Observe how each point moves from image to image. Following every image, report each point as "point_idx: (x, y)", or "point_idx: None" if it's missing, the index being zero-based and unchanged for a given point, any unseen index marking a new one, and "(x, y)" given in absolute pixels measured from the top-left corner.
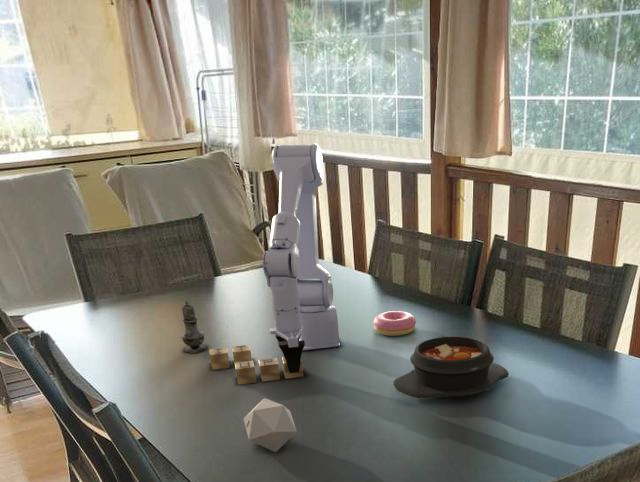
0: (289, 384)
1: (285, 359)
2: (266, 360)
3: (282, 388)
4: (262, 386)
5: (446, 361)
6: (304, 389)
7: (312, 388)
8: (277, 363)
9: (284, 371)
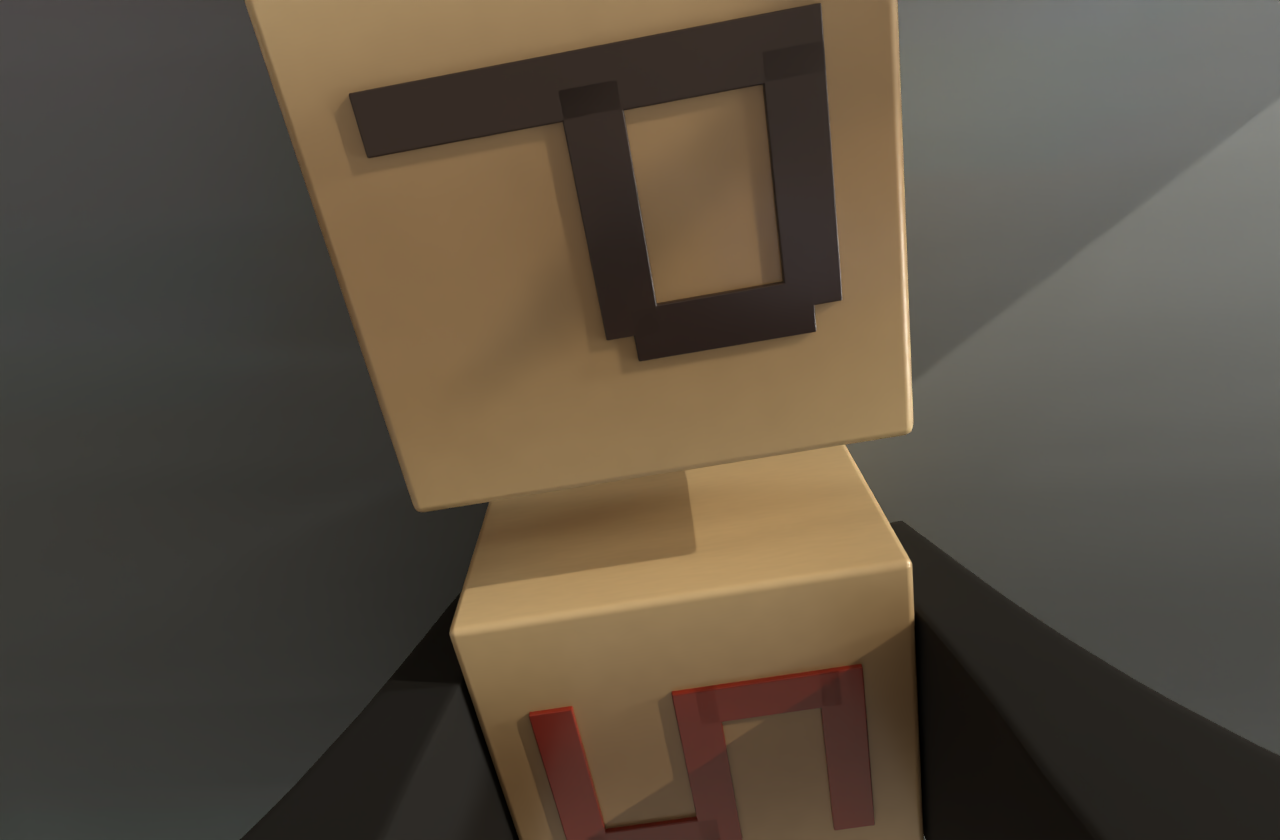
0: (262, 515)
1: (713, 653)
2: (757, 148)
3: (79, 418)
4: (135, 22)
5: None
6: (81, 711)
7: (129, 793)
8: (443, 492)
9: (543, 496)
